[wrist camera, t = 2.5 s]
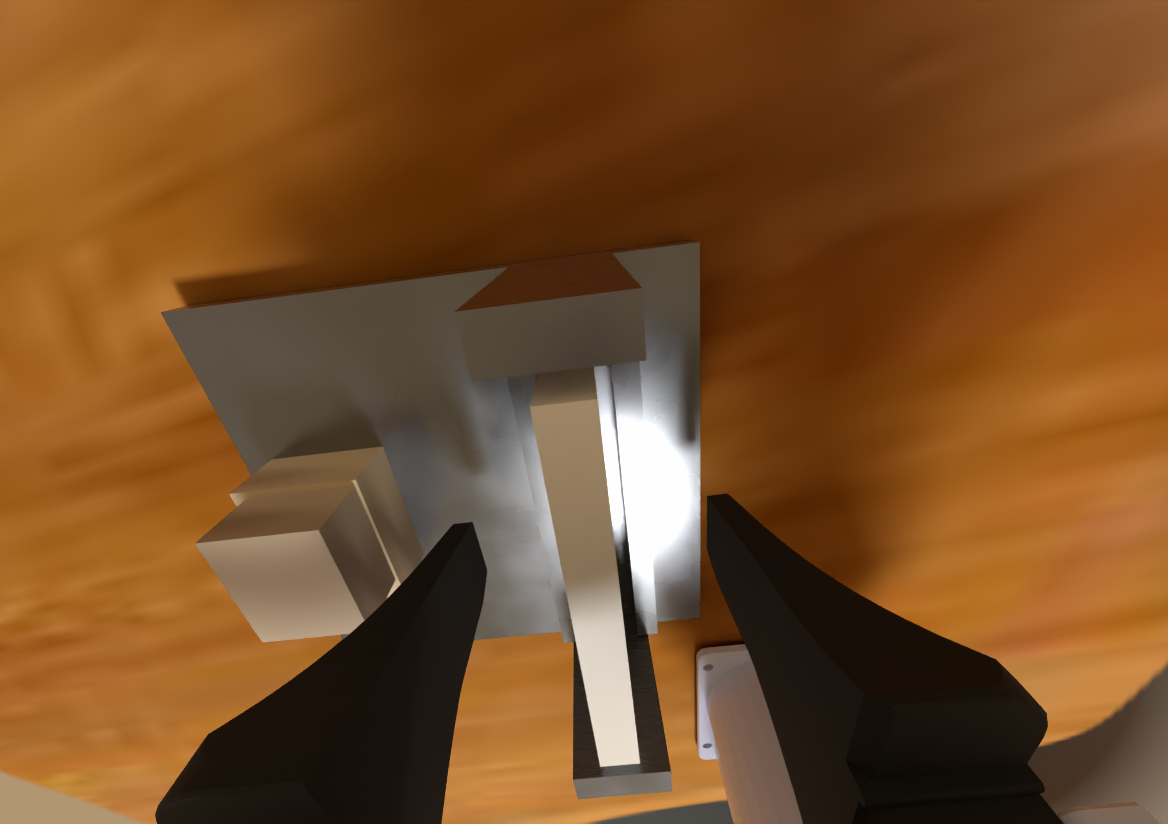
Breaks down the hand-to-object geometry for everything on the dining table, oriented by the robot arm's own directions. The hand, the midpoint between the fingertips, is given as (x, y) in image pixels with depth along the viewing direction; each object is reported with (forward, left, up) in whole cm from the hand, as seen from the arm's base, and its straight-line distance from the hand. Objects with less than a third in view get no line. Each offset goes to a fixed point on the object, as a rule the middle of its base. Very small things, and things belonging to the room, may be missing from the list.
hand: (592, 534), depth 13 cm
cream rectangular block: (0, 0, -3) cm, 3 cm away
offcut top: (0, +9, -1) cm, 9 cm away
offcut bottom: (0, +9, -3) cm, 9 cm away
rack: (0, +4, -4) cm, 6 cm away
